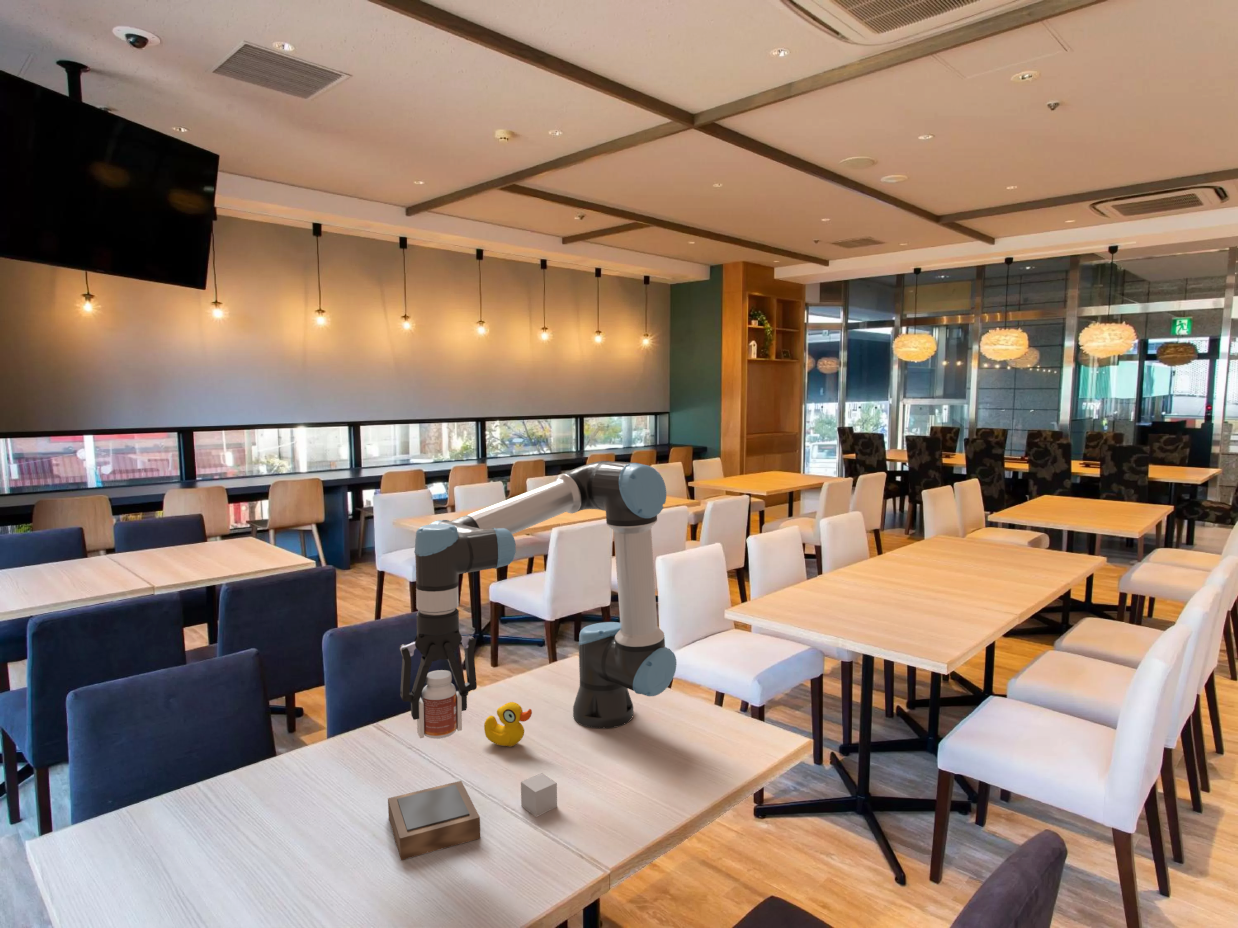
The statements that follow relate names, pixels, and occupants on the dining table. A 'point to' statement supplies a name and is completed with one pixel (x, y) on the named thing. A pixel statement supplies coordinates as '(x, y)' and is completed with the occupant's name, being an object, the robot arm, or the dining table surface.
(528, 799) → the stone block
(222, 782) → the dining table surface
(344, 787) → the dining table surface
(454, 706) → the pill bottle
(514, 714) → the duckling
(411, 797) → the podium
